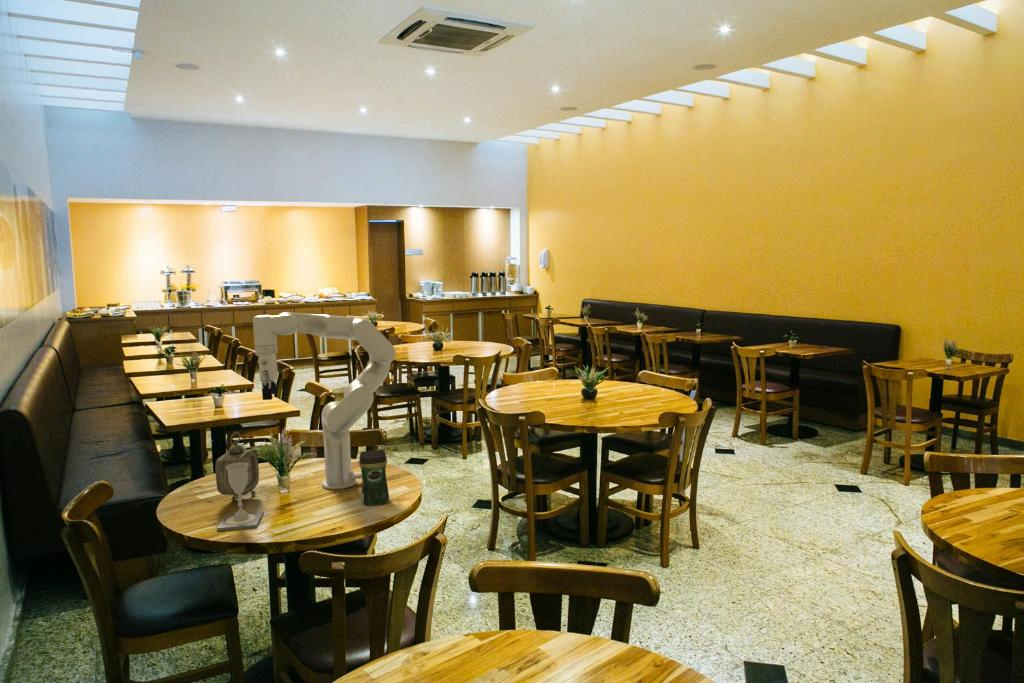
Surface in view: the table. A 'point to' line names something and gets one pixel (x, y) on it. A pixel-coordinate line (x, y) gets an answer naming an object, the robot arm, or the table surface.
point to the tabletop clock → (236, 456)
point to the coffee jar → (373, 477)
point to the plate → (229, 524)
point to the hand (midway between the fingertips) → (269, 396)
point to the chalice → (238, 486)
